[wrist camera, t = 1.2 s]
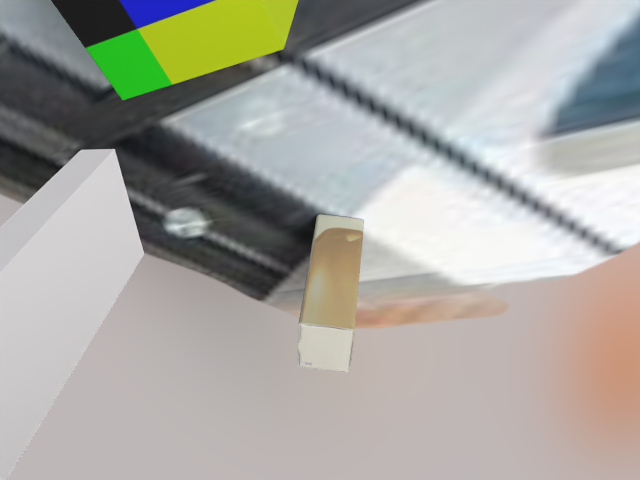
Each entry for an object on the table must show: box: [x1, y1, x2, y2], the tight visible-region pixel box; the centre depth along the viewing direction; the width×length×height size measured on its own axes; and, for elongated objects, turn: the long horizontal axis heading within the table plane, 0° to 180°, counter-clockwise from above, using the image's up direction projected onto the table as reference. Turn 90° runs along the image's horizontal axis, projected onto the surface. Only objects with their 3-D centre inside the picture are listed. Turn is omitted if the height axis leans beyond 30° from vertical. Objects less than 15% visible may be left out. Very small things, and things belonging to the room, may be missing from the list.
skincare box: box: [298, 214, 364, 372], centre depth 49 cm, size 6×4×12 cm
